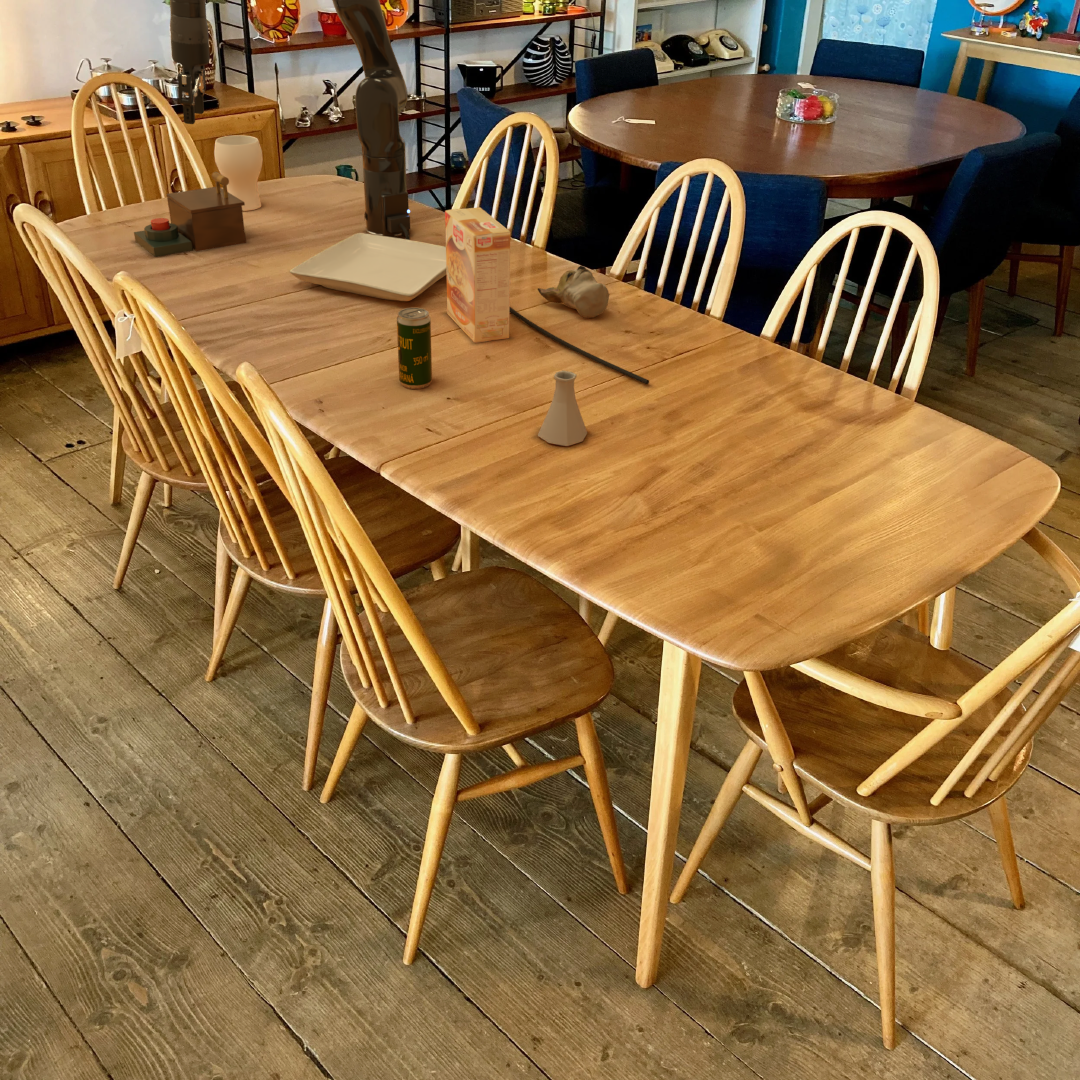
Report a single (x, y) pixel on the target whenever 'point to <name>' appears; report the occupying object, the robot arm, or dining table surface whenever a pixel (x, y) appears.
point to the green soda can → (414, 348)
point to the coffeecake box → (478, 273)
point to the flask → (563, 414)
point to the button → (160, 224)
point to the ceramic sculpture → (579, 292)
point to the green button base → (163, 241)
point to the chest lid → (207, 197)
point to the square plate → (376, 266)
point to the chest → (209, 226)
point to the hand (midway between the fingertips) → (194, 118)
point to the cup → (240, 167)
